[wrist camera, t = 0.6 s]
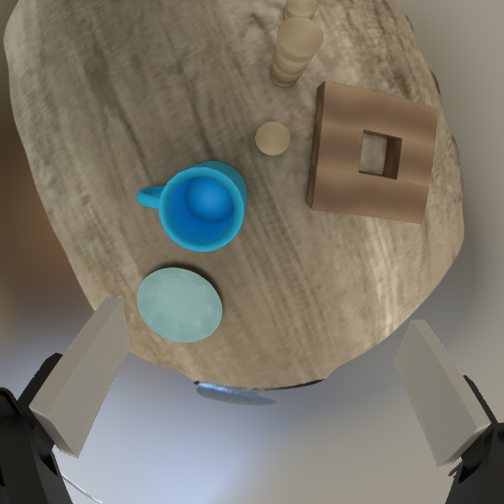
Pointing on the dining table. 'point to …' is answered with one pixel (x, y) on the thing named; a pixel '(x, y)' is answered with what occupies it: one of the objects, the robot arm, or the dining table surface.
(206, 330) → the saucer
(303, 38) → the dowel long
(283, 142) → the dowel mid
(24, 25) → the dining table surface
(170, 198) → the mug
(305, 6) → the dowel short
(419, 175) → the collar block
